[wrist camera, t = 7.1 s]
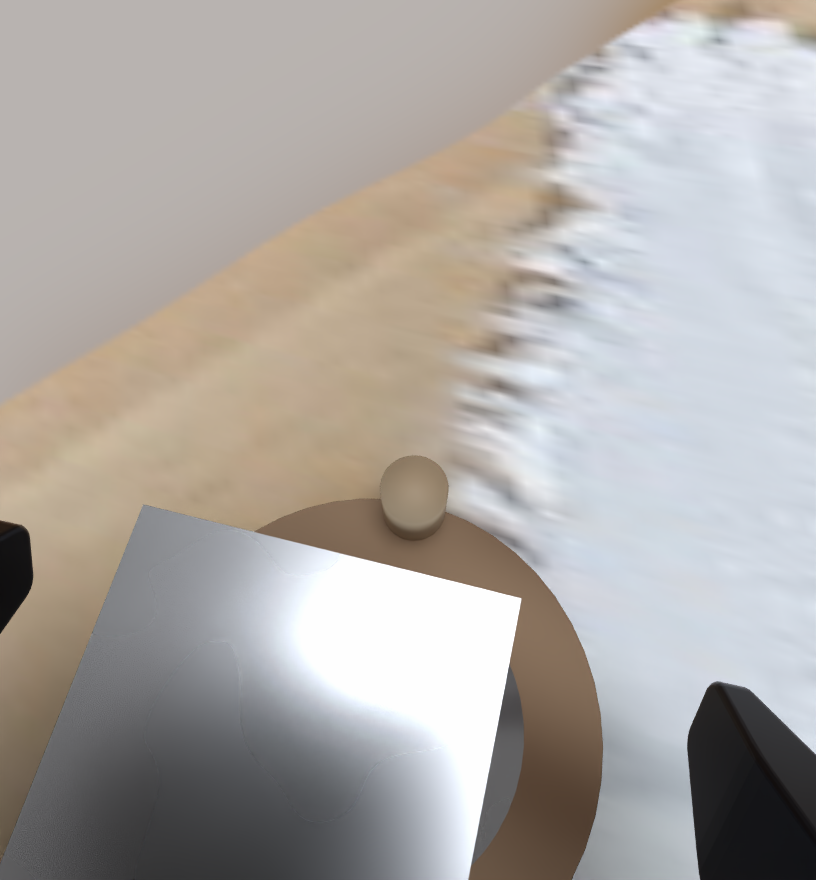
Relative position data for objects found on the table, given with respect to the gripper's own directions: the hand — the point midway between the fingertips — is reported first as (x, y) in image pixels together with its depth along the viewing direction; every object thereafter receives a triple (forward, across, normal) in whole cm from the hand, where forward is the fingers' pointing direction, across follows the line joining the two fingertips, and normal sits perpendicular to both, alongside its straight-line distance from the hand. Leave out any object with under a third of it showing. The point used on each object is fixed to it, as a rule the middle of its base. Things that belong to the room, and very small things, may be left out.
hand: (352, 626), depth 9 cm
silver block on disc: (+5, 0, +7) cm, 9 cm away
